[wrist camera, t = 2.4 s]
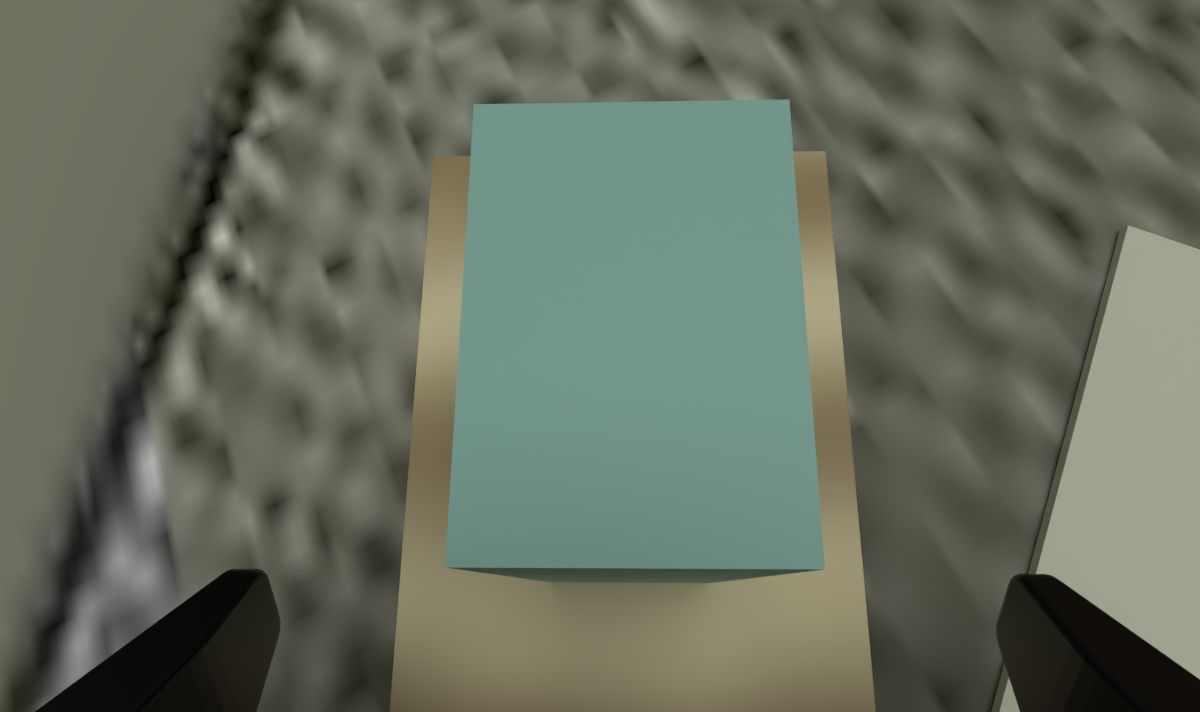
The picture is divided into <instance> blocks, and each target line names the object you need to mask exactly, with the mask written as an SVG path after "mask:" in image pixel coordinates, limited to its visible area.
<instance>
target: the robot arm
mask: <svg viewBox="0 0 1200 712" xmlns="http://www.w3.org/2000/svg"><path fill="white" fill-rule="evenodd" d="M279 633H280V616H279V612H278V609H277V605H276V602H275V599H274V595H273V592H272V589H271V585H270V582H269V579H268V576H267V574H266V573H265V572H264V571H263V570H259V569H232V570H228V571H226V572H225V573H223V574H221V575H220V576H219V577H217V578H216V579H215V580H213V581H212V582H211V583H209V584H208V585H207V586H205V587H204V588H202V589H201V590H200V591H198V592H197V593H196V594H194V595H193V596H192V597H190V598H189V599H187V600H186V601H185V602H183V603H182V604H181V605H179V606H178V607H177V608H175V609H174V610H173V611H171V612H170V613H168V614H167V615H166V616H164V617H163V618H162V619H160V620H159V621H158V622H156V623H155V624H154V625H152V626H151V627H149V628H148V629H147V630H145V631H144V632H143V633H141V634H140V635H139V636H137V637H136V638H135V639H133V640H132V641H130V642H129V643H128V644H126V645H125V646H124V647H122V648H121V649H120V650H118V651H117V652H115V653H114V654H113V655H111V656H110V657H109V658H107V659H106V660H105V661H103V662H102V663H101V664H99V665H98V666H96V667H95V668H94V669H92V670H91V671H90V672H88V673H87V674H86V675H84V676H83V677H82V678H80V679H79V680H77V681H76V682H75V683H73V684H72V685H71V686H69V687H68V688H67V689H65V690H64V691H62V692H61V693H60V694H58V695H57V696H56V697H54V698H53V699H52V700H50V701H49V702H48V703H46V704H45V705H43V706H42V707H41V708H39V709H38V710H37V711H35V712H256V711H257V708H258V705H259V701H260V698H261V695H262V691H263V688H264V684H265V681H266V678H267V674H268V671H269V668H270V664H271V661H272V658H273V654H274V651H275V648H276V644H277V641H278V637H279ZM996 636H997V641H998V645H999V648H1000V651H1001V654H1002V658H1003V661H1004V664H1005V667H1006V670H1007V673H1008V676H1009V679H1010V682H1011V686H1012V689H1013V692H1014V695H1015V698H1016V701H1017V704H1018V707H1019V710H1020V712H1200V679H1199V678H1198V677H1196V676H1195V675H1193V674H1192V673H1190V672H1189V671H1188V670H1186V669H1185V668H1183V667H1182V666H1181V665H1179V664H1178V663H1176V662H1175V661H1173V660H1172V659H1171V658H1169V657H1168V656H1166V655H1165V654H1164V653H1162V652H1161V651H1159V650H1158V649H1156V648H1155V647H1154V646H1152V645H1151V644H1149V643H1148V642H1147V641H1145V640H1144V639H1142V638H1141V637H1139V636H1138V635H1137V634H1135V633H1134V632H1132V631H1131V630H1130V629H1128V628H1127V627H1125V626H1124V625H1122V624H1121V623H1120V622H1118V621H1117V620H1115V619H1114V618H1113V617H1111V616H1110V615H1108V614H1107V613H1106V612H1104V611H1103V610H1101V609H1100V608H1098V607H1097V606H1096V605H1094V604H1093V603H1091V602H1090V601H1089V600H1087V599H1086V598H1084V597H1083V596H1081V595H1080V594H1079V593H1077V592H1076V591H1074V590H1073V589H1072V588H1070V587H1069V586H1067V585H1066V584H1064V583H1063V582H1062V581H1060V580H1059V579H1057V578H1055V577H1054V576H1051V575H1047V574H1018V575H1015V576H1014V577H1013V578H1012V579H1011V580H1010V582H1009V585H1008V588H1007V591H1006V594H1005V597H1004V601H1003V604H1002V607H1001V610H1000V613H999V616H998V620H997V624H996Z"/></svg>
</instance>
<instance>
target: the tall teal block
mask: <svg viewBox="0 0 1200 712" xmlns="http://www.w3.org/2000/svg"><path fill="white" fill-rule="evenodd" d="M445 568H452V569H459V570H466V571H473V572H481V573H488V574H495V575H502V576H509V577H516V578H523V579H530V580H537V581H544V582H604V583H717V582H725V581H733V580H741V579H750V578H758V577H766V576H775V575H783V574H791V573H800V572H808V571H816V570H825V565H824V551H823V538H822V525H821V512H820V499H819V485H818V472H817V459H816V446H815V433H814V420H813V406H812V393H811V380H810V367H809V354H808V341H807V327H806V314H805V301H804V288H803V275H802V262H801V248H800V235H799V222H798V209H797V196H796V182H795V169H794V156H793V143H792V130H791V117H790V103H789V100H732V101H665V102H598V103H531V104H474V111H473V127H472V143H471V159H470V175H469V191H468V207H467V223H466V239H465V256H464V272H463V288H462V304H461V320H460V336H459V352H458V368H457V384H456V400H455V416H454V432H453V448H452V464H451V481H450V497H449V513H448V529H447V545H446V561H445Z"/></svg>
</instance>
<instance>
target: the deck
mask: <svg viewBox="0 0 1200 712" xmlns="http://www.w3.org/2000/svg"><path fill="white" fill-rule="evenodd" d="M793 156H794V169H795V182H796V196H797V209H798V222H799V235H800V248H801V262H802V275H803V288H804V301H805V314H806V327H807V341H808V354H809V367H810V380H811V393H812V406H813V420H814V433H815V446H816V459H817V472H818V485H819V499H820V512H821V525H822V538H823V551H824V565H825V570H816V571H808V572H800V573H791V574H783V575H775V576H766V577H758V578H750V579H741V580H733V581H725V582H717V583H604V582H544V581H537V580H530V579H523V578H516V577H509V576H502V575H495V574H488V573H481V572H473V571H466V570H459V569H452V568H445V561H446V545H447V529H448V513H449V497H450V481H451V464H452V448H453V432H454V416H455V400H456V384H457V368H458V352H459V336H460V320H461V304H462V288H463V272H464V256H465V239H466V223H467V207H468V191H469V175H470V159H471V156H433V164H432V177H431V190H430V202H429V215H428V228H427V241H426V253H425V266H424V279H423V292H422V304H421V317H420V330H419V343H418V356H417V368H416V381H415V394H414V407H413V419H412V432H411V445H410V458H409V471H408V483H407V496H406V509H405V522H404V534H403V547H402V560H401V573H400V586H399V598H398V611H397V624H396V637H395V649H394V662H393V675H392V688H391V701H390V712H876V709H875V697H874V686H873V675H872V664H871V653H870V642H869V631H868V619H867V608H866V597H865V586H864V575H863V564H862V553H861V541H860V530H859V519H858V508H857V497H856V486H855V475H854V463H853V452H852V441H851V430H850V419H849V408H848V397H847V385H846V374H845V363H844V352H843V341H842V330H841V319H840V308H839V296H838V285H837V274H836V263H835V252H834V241H833V230H832V218H831V207H830V196H829V185H828V174H827V163H826V152H825V151H807V152H793Z"/></svg>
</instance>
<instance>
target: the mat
mask: <svg viewBox="0 0 1200 712" xmlns="http://www.w3.org/2000/svg"><path fill="white" fill-rule="evenodd" d="M1028 574H1047V575H1051V576H1054V577H1055V578H1057V579H1059V580H1060V581H1062V582H1063V583H1064V584H1066V585H1067V586H1069V587H1070V588H1072V589H1073V590H1074V591H1076V592H1077V593H1079V594H1080V595H1081V596H1083V597H1084V598H1086V599H1087V600H1089V601H1090V602H1091V603H1093V604H1094V605H1096V606H1097V607H1098V608H1100V609H1101V610H1103V611H1104V612H1106V613H1107V614H1108V615H1110V616H1111V617H1113V618H1114V619H1115V620H1117V621H1118V622H1120V623H1121V624H1122V625H1124V626H1125V627H1127V628H1128V629H1130V630H1131V631H1132V632H1134V633H1135V634H1137V635H1138V636H1139V637H1141V638H1142V639H1144V640H1145V641H1147V642H1148V643H1149V644H1151V645H1152V646H1154V647H1155V648H1156V649H1158V650H1159V651H1161V652H1162V653H1164V654H1165V655H1166V656H1168V657H1169V658H1171V659H1172V660H1173V661H1175V662H1176V663H1178V664H1179V665H1181V666H1182V667H1183V668H1185V669H1186V670H1188V671H1189V672H1190V673H1192V674H1193V675H1195V676H1196V677H1198V678H1199V679H1200V250H1199V249H1196V248H1193V247H1190V246H1187V245H1184V244H1181V243H1178V242H1175V241H1173V240H1170V239H1167V238H1164V237H1161V236H1158V235H1155V234H1152V233H1149V232H1146V231H1143V230H1140V229H1137V228H1134V227H1131V226H1127V227H1125V228H1124V229H1123V230H1121V231H1120V232H1119V235H1118V239H1117V243H1116V246H1115V250H1114V254H1113V258H1112V261H1111V265H1110V269H1109V272H1108V276H1107V280H1106V284H1105V287H1104V291H1103V295H1102V299H1101V302H1100V306H1099V310H1098V314H1097V317H1096V321H1095V325H1094V329H1093V332H1092V336H1091V340H1090V344H1089V347H1088V351H1087V355H1086V359H1085V362H1084V366H1083V370H1082V374H1081V377H1080V381H1079V385H1078V388H1077V392H1076V396H1075V400H1074V403H1073V407H1072V411H1071V415H1070V418H1069V422H1068V426H1067V430H1066V433H1065V437H1064V441H1063V445H1062V448H1061V452H1060V456H1059V460H1058V463H1057V467H1056V471H1055V475H1054V478H1053V482H1052V486H1051V490H1050V493H1049V497H1048V501H1047V505H1046V508H1045V512H1044V516H1043V519H1042V523H1041V527H1040V531H1039V534H1038V538H1037V542H1036V546H1035V549H1034V553H1033V557H1032V561H1031V564H1030V568H1029V572H1028ZM991 712H1020V710H1019V707H1018V704H1017V701H1016V698H1015V695H1014V692H1013V689H1012V686H1011V682H1010V679H1009V676H1008V673H1007V670H1006V667H1005V664H1004V665H1003V669H1002V673H1001V677H1000V680H999V684H998V688H997V692H996V695H995V699H994V703H993V707H992V710H991Z"/></svg>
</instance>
